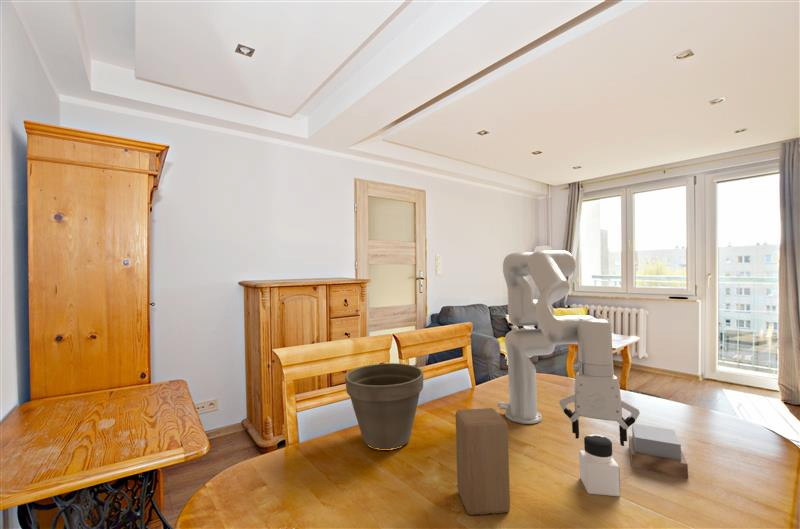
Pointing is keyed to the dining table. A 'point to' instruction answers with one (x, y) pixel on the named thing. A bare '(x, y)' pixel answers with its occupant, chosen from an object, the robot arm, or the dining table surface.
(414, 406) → the plant pot
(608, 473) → the medicine bottle
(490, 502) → the wooden block
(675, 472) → the tower base
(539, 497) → the dining table surface
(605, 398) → the robot arm
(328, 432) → the dining table surface
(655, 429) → the tower top
